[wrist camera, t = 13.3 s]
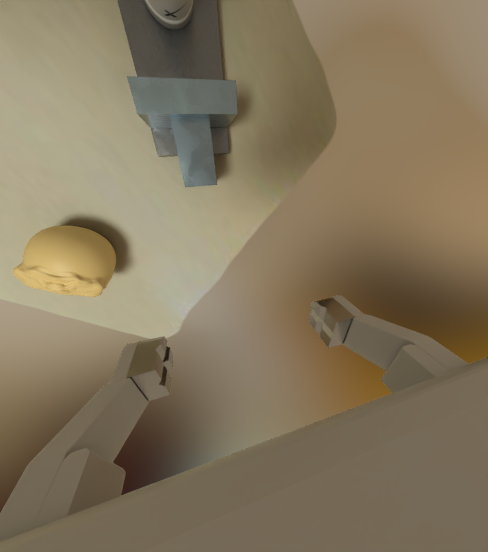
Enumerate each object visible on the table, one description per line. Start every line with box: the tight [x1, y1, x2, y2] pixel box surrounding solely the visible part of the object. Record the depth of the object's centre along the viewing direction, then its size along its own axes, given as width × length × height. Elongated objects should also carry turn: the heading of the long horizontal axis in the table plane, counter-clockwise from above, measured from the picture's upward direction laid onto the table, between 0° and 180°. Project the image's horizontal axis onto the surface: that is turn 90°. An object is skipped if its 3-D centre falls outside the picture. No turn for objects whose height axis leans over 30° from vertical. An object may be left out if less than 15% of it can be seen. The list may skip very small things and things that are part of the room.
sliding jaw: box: [127, 76, 238, 187], centre depth 26 cm, size 11×12×8 cm
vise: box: [118, 0, 229, 157], centre depth 21 cm, size 24×12×10 cm, turn 3°
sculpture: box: [13, 226, 116, 297], centre depth 30 cm, size 11×12×11 cm
